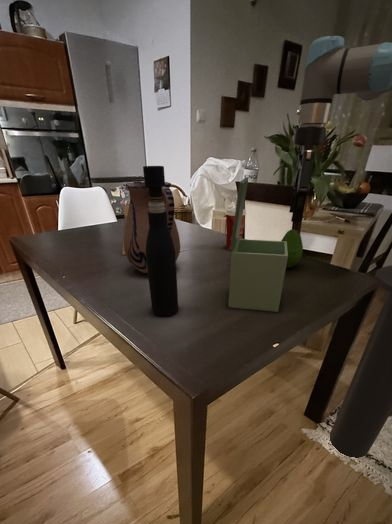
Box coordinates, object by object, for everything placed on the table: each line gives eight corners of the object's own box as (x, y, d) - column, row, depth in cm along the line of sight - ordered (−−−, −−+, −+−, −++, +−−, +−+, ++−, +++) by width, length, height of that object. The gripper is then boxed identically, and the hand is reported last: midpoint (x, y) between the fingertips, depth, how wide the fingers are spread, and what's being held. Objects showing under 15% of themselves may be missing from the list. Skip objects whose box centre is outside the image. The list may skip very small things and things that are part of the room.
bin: (278, 292, 78) (286, 241, 70) (278, 312, 68) (288, 255, 61) (233, 288, 80) (237, 239, 72) (228, 307, 71) (231, 252, 63)
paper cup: (234, 252, 107) (237, 212, 99) (219, 248, 112) (221, 209, 104) (247, 248, 112) (251, 209, 104) (232, 244, 116) (235, 207, 108)
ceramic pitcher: (157, 257, 103) (150, 178, 89) (200, 271, 91) (199, 182, 77) (117, 270, 93) (101, 183, 78) (159, 287, 81) (149, 188, 67)
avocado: (287, 273, 89) (294, 233, 82) (269, 266, 95) (275, 228, 88) (304, 268, 93) (312, 229, 86) (286, 261, 98) (293, 225, 91)
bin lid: (248, 177, 64) (245, 177, 64) (243, 182, 55) (239, 182, 55) (239, 237, 72) (236, 236, 72) (233, 250, 63) (229, 250, 63)
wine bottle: (167, 319, 66) (155, 167, 49) (146, 312, 69) (128, 166, 51) (183, 308, 70) (177, 165, 53) (163, 302, 73) (151, 165, 56)
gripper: (293, 129, 83) (281, 208, 95) (299, 124, 63) (282, 225, 75) (320, 128, 81) (304, 209, 94) (335, 123, 62) (312, 226, 74)
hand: (294, 216), depth 85 cm, fingers open, 13 cm apart
